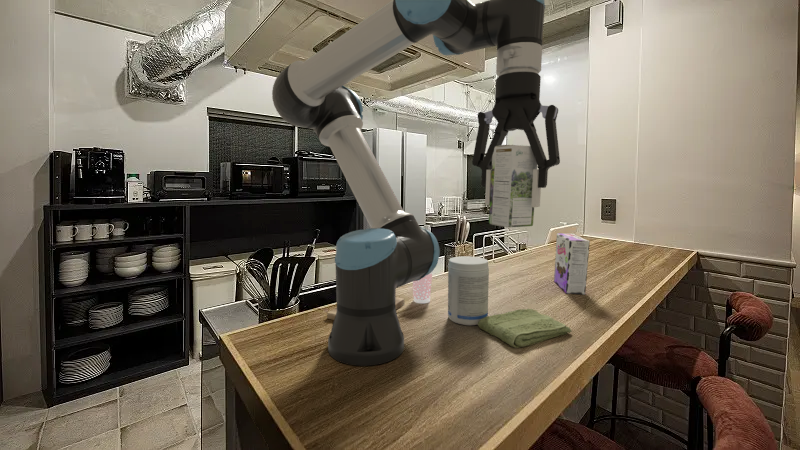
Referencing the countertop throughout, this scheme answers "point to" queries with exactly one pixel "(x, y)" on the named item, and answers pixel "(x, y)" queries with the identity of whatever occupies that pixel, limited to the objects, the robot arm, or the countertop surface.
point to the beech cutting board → (332, 313)
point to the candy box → (571, 263)
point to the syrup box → (512, 186)
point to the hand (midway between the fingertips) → (511, 205)
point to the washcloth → (523, 327)
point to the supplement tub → (468, 289)
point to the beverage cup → (422, 289)
